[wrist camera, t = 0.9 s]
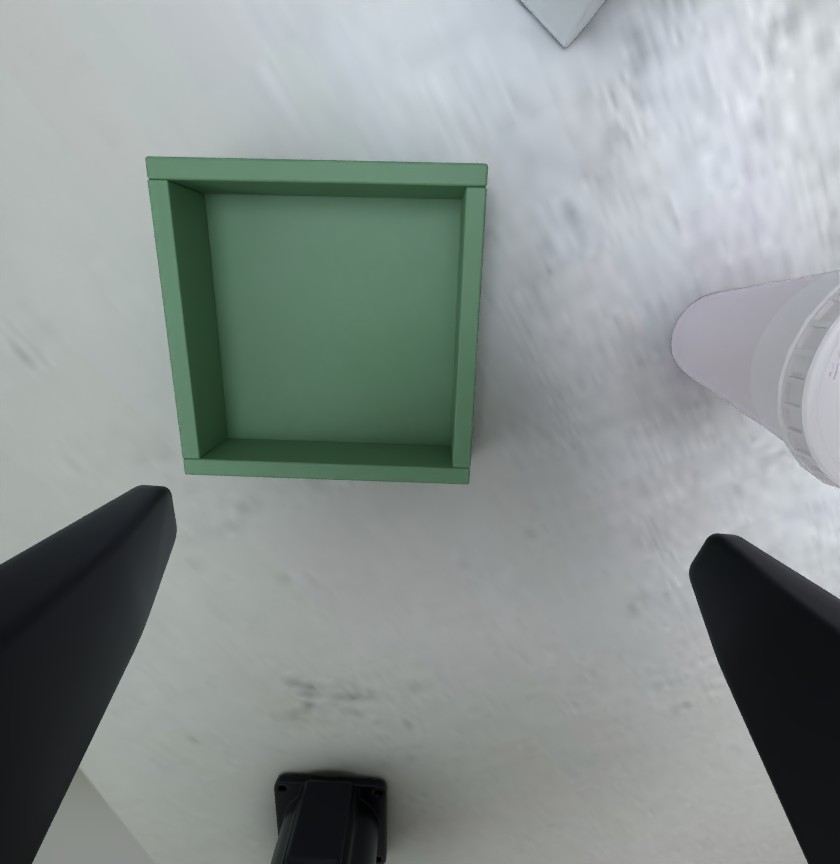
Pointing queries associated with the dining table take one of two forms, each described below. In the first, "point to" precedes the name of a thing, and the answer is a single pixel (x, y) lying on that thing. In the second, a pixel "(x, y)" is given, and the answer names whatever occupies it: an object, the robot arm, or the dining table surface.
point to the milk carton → (564, 16)
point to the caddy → (321, 314)
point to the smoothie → (773, 361)
